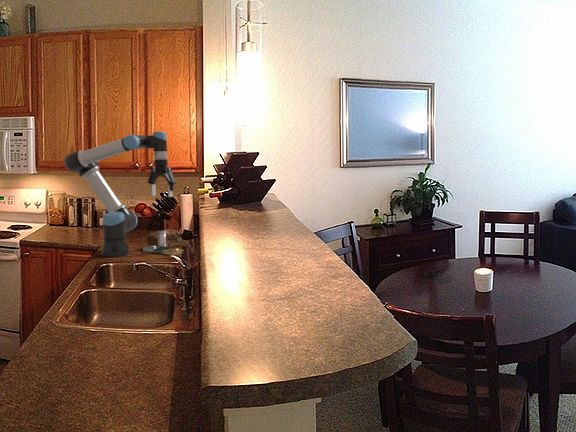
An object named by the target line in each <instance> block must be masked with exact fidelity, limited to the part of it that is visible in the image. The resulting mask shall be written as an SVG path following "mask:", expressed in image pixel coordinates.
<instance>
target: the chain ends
mask: <svg viewBox="0 0 576 432" xmlns="http://www.w3.org/2000/svg"><path fill="white" fill-rule="evenodd" d="M142 251H143V252H144V253H145V252H146V253H150V254H151V253H152V254H160V255H167V256H172V255H174V256H177V255H182V254H183V253H182V251H183V252H184V249H181V248H177V247H169V248H167V247H166V249H165V250H159V246H156V245H149V246H148V245H147V246H146V247H143V248H142Z"/></svg>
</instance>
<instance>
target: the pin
mask: <svg viewBox="0 0 576 432" xmlns="http://www.w3.org/2000/svg"><path fill="white" fill-rule="evenodd" d="M157 232H158V233H159V250H165V249H166V231H162V230H158V231H157Z"/></svg>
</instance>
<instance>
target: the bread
mask: <svg viewBox="0 0 576 432" xmlns="http://www.w3.org/2000/svg"><path fill="white" fill-rule="evenodd" d="M161 231H166V247H167V248H174V247H177V246H180V245H181V243H182V236H181V235H182V234H181V232H180V231H178V230H177V229H174V228H168V229H163V230H161ZM146 244H147V246H149V245H156V246H159V233H158V231H154V232H152V233H148V235H147V236H146Z"/></svg>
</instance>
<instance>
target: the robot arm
mask: <svg viewBox="0 0 576 432" xmlns="http://www.w3.org/2000/svg"><path fill="white" fill-rule="evenodd" d="M167 138H168V137H167V133H166V132H165V131H152V134H151V135H149V134H148V135H145V134H142V135H141V134H140V135H139V134H138V135H137V134H128V135H126V136H124V137H122V138H119V139H116V140H114V141H109V142H108V143H107V142H106V143H104V144H101V145H99V146H95V147H93V148H90V149H89V148H88V149H86V150H81V149H80V150H76V151H73V152H69V153H67V155H65V157H64V160H63V164H64V168H65V169H66V170H67V171H69V172H71V173H78V175H79V176H80V178H81V179H83V180H85V181H87V183H88V184H89V186H90V188H91V189H92V191H93V192H94V193H95V195H96V196H97V197H98V199H99V200H100V202H101V203H102V204H103V206H104V207H105V209H106V211H107V213H105V214H103V216H102V231H103V232H102V234H103V244H102V247H101V251H100V254H101V256H102V257H108V258H111V257H113V258H115V257H123V256H128V255H129V254H130V248H129V244H128V242H127V241H126V233H128V232H131V231H132V230H134V229H135V228H136V227H137V225H138V220H139V219H138V216H137V214H136V213H135V212H134V211H131V210H129V207H127V205H123V203H122V202H120V199H119V198H118V197H117V195H116V194H115V193H114V191H113V189H112V188H111V187H110V186H109V184H108V182H107V181H106V180H105V178H104V177H103V175H102V174H101V172H100V166H99V164H98V163H99V162H100V161H103V160H105V159H108V158H111V157H115V156H117V155H120V154H123V153H127V152H129V151H133V150H143V149H144V150H145V149H153V159H154V160H153V166H154V167H152V166H151V167H150V174H149V177H148V180H147V184H149V185H150V190H151V196H152V197H154V196H157V190H156V188H157V187H156V186H157V185H156V182H157V180H158V178H159V176H162V177H163V178H164V179H165V180H166V182H167V184H168V185H167V187H168V188H167V189H168V191H167V192H168V194H167V195H168V198H172V197H174V194H173V193H174V192H173V191H174V185H176V184H177V182H176V179H175V177H174V174H173V170H172V168H171V167H168V165H169V164H168V139H167Z"/></svg>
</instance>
